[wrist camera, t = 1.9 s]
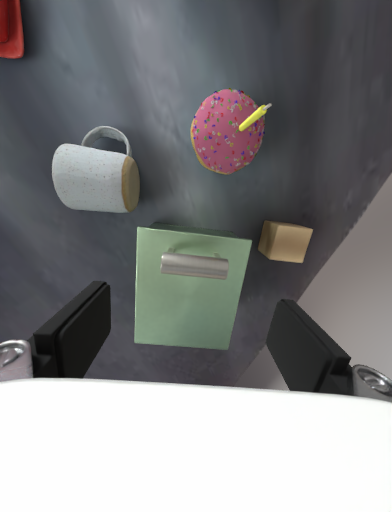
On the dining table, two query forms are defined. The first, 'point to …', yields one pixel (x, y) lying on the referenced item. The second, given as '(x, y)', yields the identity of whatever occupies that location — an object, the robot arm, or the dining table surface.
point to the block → (284, 241)
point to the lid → (187, 287)
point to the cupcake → (227, 131)
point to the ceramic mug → (96, 175)
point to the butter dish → (11, 29)
